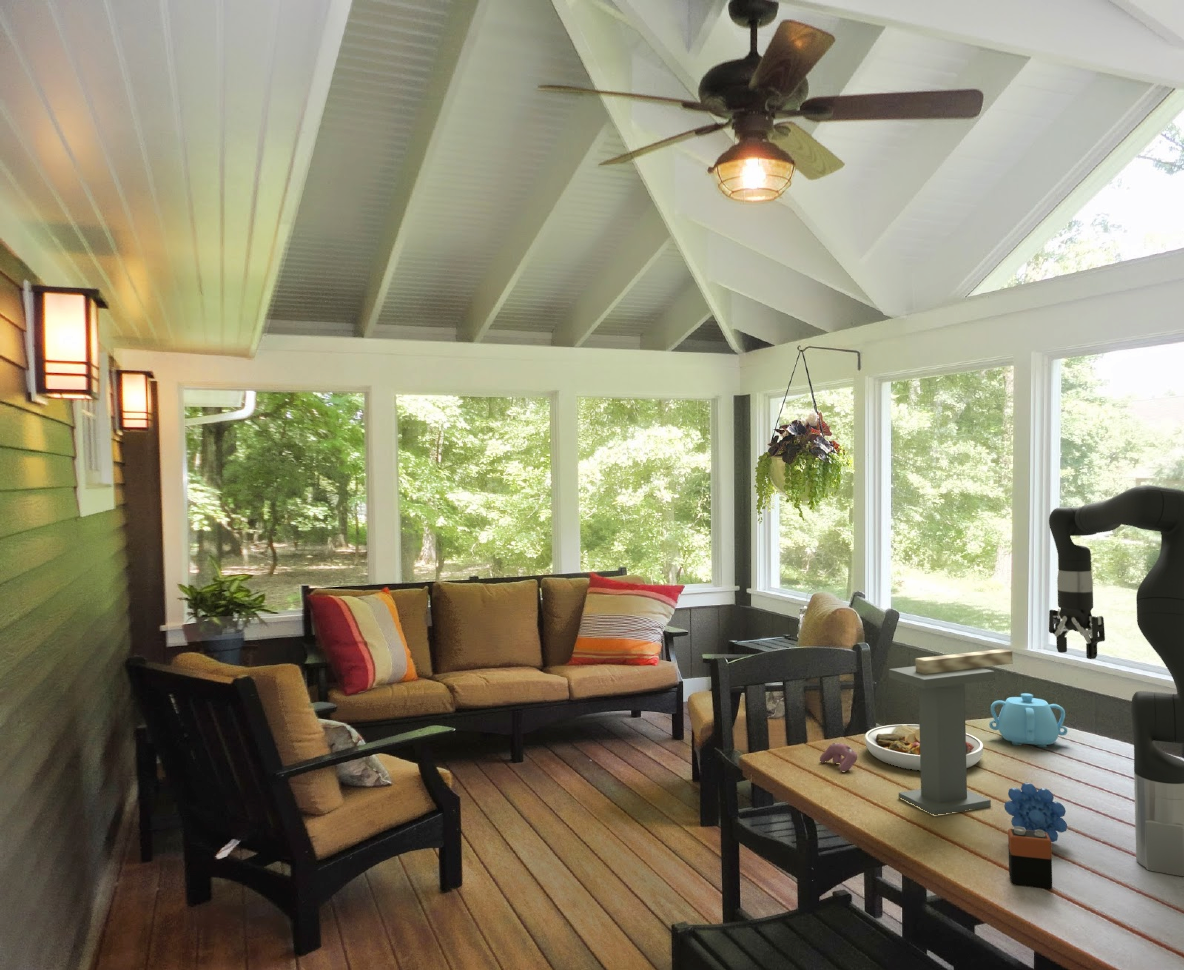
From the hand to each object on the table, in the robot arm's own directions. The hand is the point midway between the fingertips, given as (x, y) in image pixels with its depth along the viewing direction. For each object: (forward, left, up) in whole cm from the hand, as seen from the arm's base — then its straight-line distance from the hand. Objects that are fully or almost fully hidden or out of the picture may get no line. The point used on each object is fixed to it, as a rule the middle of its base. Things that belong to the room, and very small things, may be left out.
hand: (1076, 655), depth 208 cm
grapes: (-40, +7, -32) cm, 52 cm away
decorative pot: (+35, +13, -32) cm, 49 cm away
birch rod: (-20, +23, -1) cm, 30 cm away
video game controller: (-11, +55, -32) cm, 65 cm away
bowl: (+8, +37, -33) cm, 50 cm away
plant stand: (-25, +27, -32) cm, 49 cm away
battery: (-60, +7, -32) cm, 69 cm away
